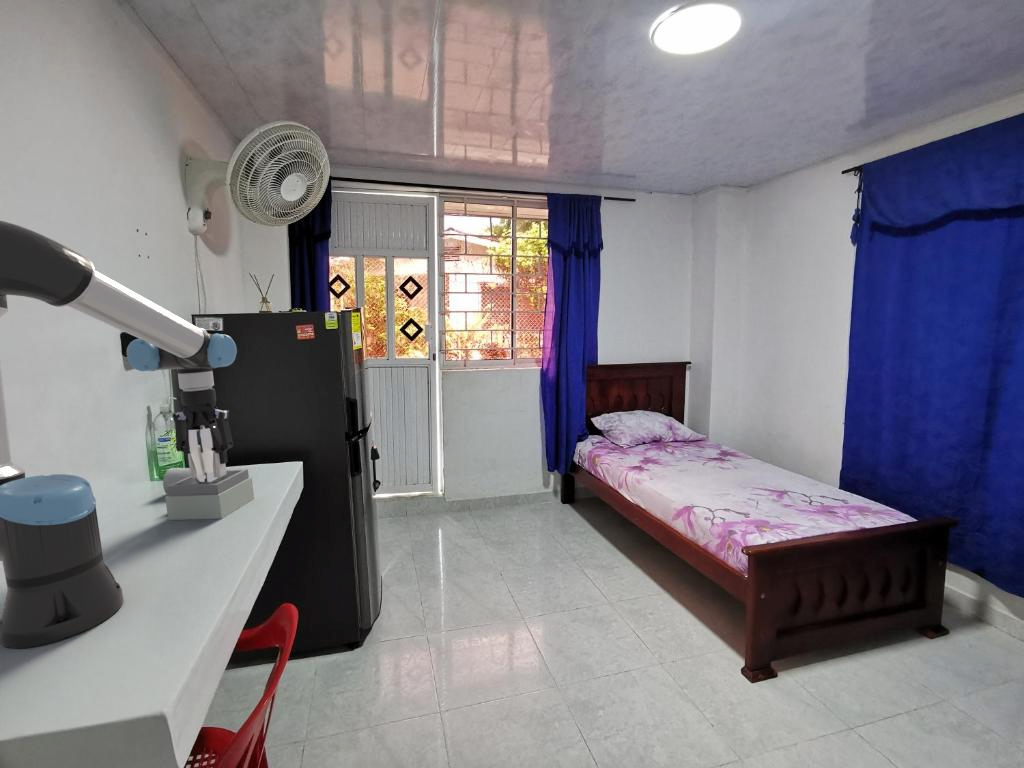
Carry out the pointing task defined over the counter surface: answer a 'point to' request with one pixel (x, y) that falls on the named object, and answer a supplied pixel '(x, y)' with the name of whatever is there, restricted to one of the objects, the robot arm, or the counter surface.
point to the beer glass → (203, 455)
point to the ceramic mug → (174, 476)
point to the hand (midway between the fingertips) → (208, 476)
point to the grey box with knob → (209, 497)
